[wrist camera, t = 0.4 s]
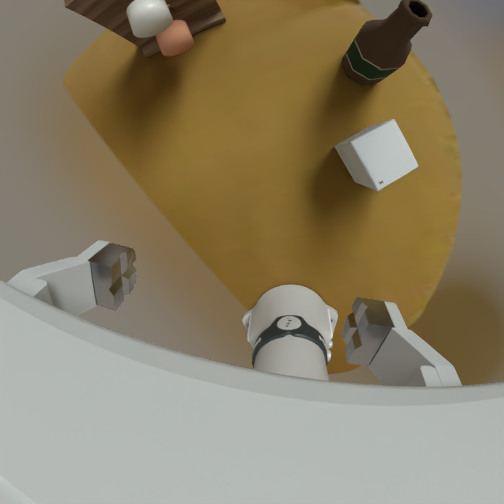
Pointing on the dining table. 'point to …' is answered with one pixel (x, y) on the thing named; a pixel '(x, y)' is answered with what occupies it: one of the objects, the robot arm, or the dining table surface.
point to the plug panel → (181, 8)
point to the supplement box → (377, 155)
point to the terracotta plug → (175, 38)
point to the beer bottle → (385, 43)
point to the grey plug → (148, 17)
